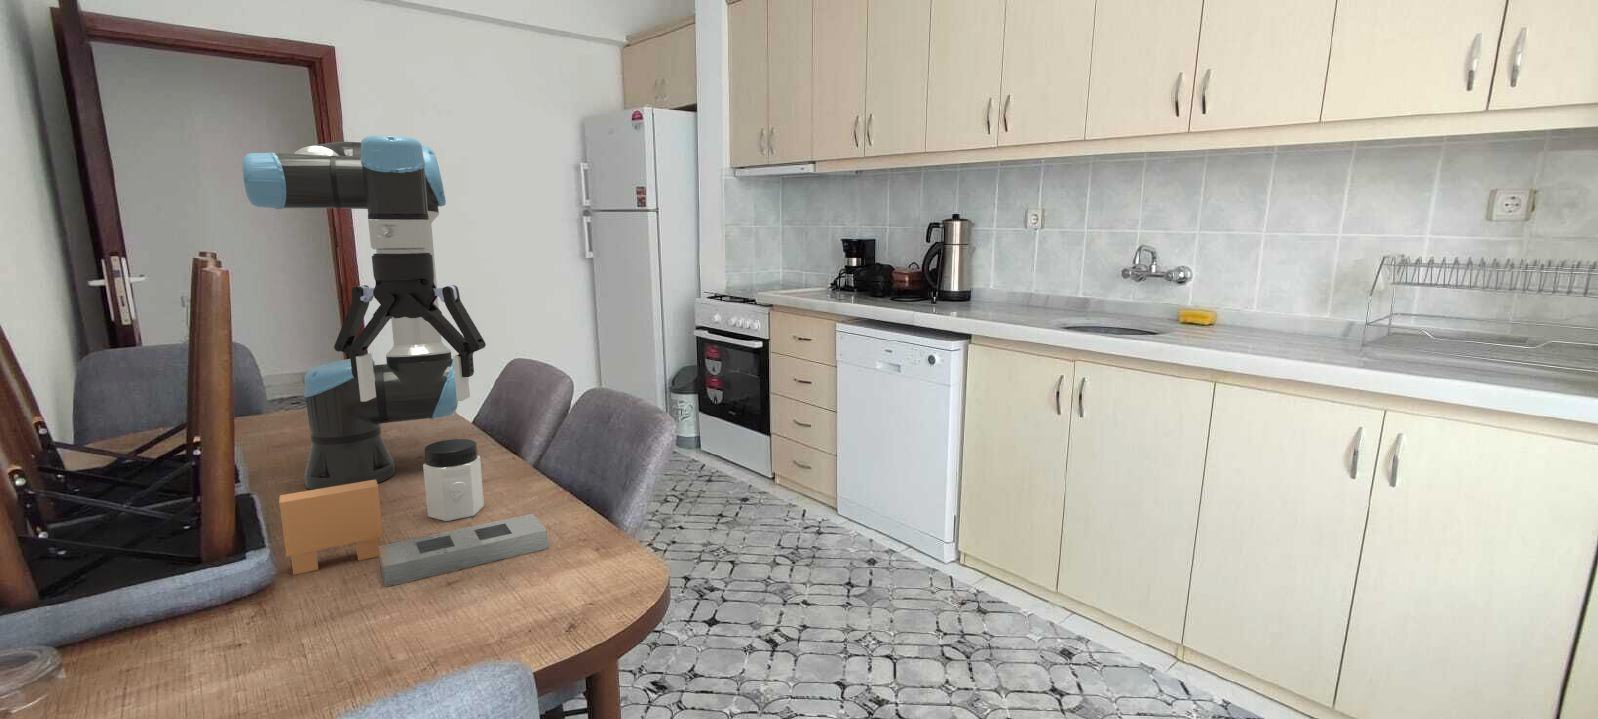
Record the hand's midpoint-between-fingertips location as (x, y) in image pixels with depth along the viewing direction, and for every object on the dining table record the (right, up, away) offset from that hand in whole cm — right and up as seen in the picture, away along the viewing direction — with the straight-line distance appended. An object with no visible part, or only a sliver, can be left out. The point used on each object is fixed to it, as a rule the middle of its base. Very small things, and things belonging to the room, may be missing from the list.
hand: (416, 399), depth 107 cm
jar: (-4, -21, +21) cm, 30 cm away
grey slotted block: (+6, -24, +4) cm, 25 cm away
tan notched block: (-13, -24, +2) cm, 27 cm away
